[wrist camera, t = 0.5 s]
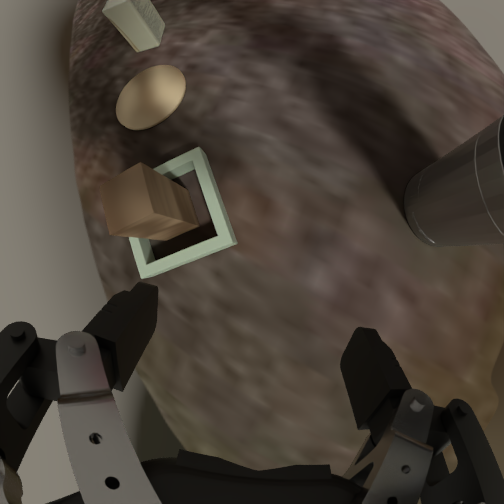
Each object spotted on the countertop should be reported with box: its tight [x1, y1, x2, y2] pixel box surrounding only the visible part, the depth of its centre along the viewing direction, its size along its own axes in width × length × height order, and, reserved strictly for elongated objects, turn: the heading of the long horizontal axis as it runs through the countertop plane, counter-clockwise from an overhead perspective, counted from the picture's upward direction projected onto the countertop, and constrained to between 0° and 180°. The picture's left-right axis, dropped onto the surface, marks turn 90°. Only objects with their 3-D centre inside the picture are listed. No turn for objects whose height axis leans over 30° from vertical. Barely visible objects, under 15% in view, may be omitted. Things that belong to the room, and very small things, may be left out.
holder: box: [129, 147, 238, 279], centre depth 29 cm, size 11×11×2 cm
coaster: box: [116, 65, 186, 130], centre depth 31 cm, size 11×11×1 cm
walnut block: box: [99, 162, 200, 241], centre depth 25 cm, size 4×4×11 cm
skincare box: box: [102, 0, 165, 52], centre depth 26 cm, size 6×4×12 cm
